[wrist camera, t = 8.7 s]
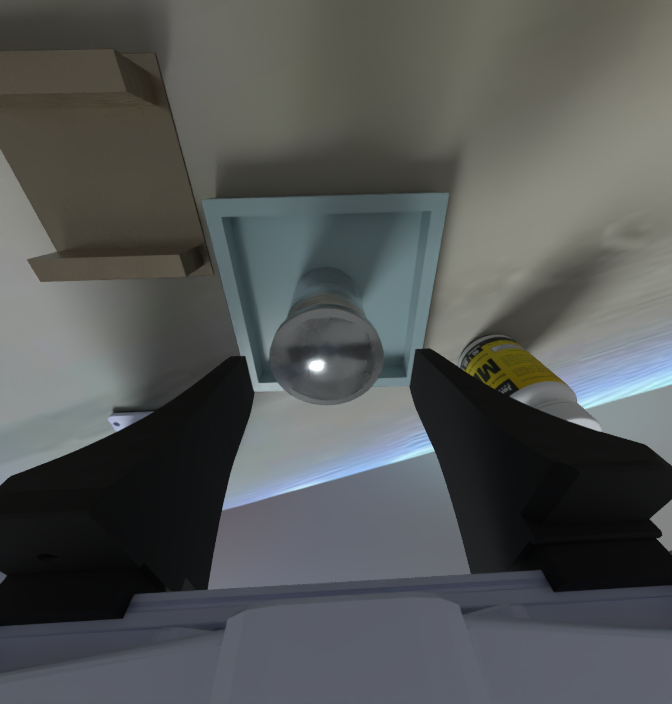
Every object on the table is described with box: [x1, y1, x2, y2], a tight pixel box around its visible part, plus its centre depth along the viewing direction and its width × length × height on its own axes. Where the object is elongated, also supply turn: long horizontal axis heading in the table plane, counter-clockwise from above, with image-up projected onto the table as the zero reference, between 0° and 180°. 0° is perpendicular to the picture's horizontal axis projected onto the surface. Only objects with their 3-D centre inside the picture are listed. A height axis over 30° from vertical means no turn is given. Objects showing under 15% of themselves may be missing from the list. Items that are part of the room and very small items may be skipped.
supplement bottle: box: [459, 335, 602, 432], centre depth 18 cm, size 5×5×8 cm
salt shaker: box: [269, 267, 384, 405], centre depth 15 cm, size 5×5×8 cm
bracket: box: [0, 49, 214, 282], centre depth 14 cm, size 10×9×3 cm
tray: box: [201, 192, 449, 392], centre depth 18 cm, size 13×13×2 cm
